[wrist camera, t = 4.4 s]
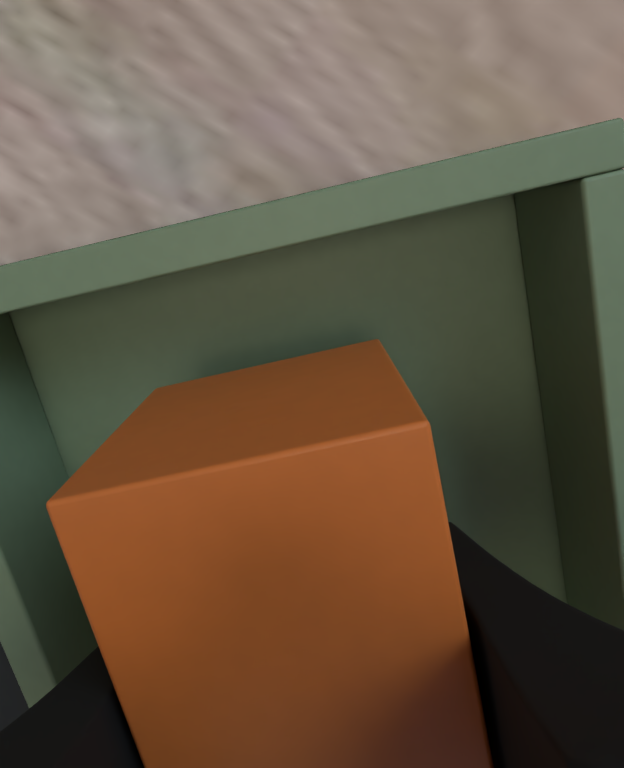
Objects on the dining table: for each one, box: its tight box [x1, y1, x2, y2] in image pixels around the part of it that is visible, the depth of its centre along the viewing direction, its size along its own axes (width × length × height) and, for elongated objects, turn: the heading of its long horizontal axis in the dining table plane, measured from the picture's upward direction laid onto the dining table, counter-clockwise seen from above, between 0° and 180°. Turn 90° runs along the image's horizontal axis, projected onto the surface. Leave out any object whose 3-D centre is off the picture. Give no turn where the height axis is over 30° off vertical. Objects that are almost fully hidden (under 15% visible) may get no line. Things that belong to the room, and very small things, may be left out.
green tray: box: [0, 118, 624, 708], centre depth 14 cm, size 15×14×4 cm
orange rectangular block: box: [46, 339, 494, 768], centre depth 10 cm, size 9×4×5 cm, turn 13°
